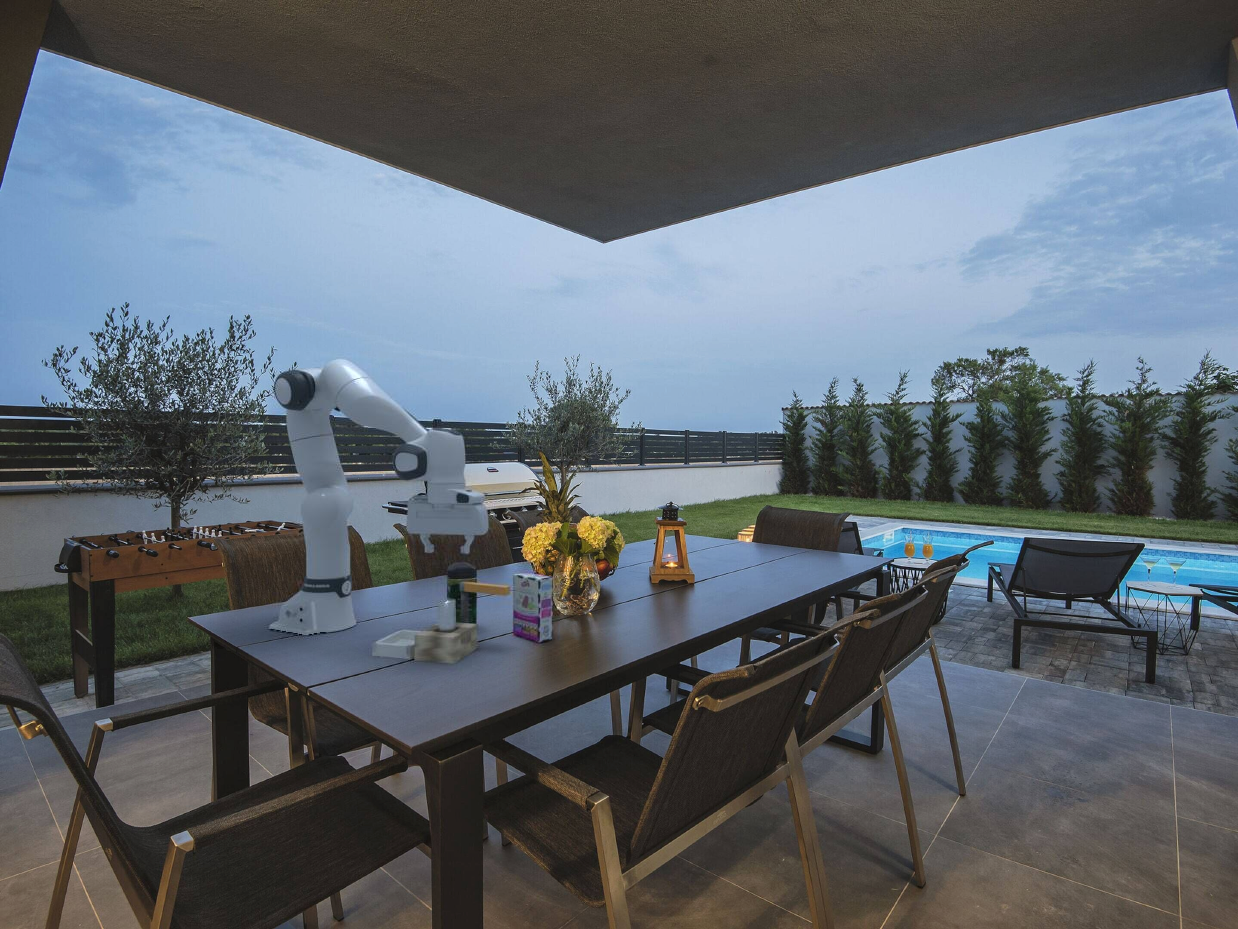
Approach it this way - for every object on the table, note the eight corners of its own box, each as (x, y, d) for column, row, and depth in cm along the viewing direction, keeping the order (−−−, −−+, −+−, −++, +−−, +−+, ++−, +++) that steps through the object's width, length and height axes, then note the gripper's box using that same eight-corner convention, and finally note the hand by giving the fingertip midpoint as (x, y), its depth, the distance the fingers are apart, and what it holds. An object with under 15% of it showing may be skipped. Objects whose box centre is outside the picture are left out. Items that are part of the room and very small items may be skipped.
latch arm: (505, 595, 150) (505, 587, 150) (457, 590, 155) (457, 582, 155) (510, 593, 152) (510, 585, 152) (463, 589, 157) (463, 581, 157)
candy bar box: (554, 639, 159) (554, 576, 159) (539, 643, 156) (539, 579, 155) (527, 631, 167) (527, 571, 167) (512, 635, 163) (512, 573, 163)
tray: (372, 656, 146) (372, 643, 145) (401, 641, 157) (401, 629, 157) (409, 659, 143) (409, 646, 143) (436, 644, 155) (436, 632, 155)
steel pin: (435, 656, 146) (435, 601, 146) (443, 651, 150) (443, 598, 149) (450, 657, 145) (450, 602, 145) (458, 652, 149) (458, 598, 148)
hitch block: (414, 660, 142) (414, 603, 142) (450, 639, 159) (450, 588, 159) (453, 663, 140) (453, 606, 140) (486, 642, 157) (486, 590, 157)
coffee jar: (479, 634, 164) (479, 565, 164) (448, 637, 161) (448, 566, 161) (474, 625, 173) (474, 559, 173) (445, 627, 170) (445, 561, 170)
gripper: (400, 495, 146) (401, 553, 146) (479, 496, 141) (479, 556, 141) (415, 494, 152) (415, 549, 152) (491, 495, 147) (491, 552, 148)
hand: (447, 553), depth 147 cm, fingers open, 8 cm apart
